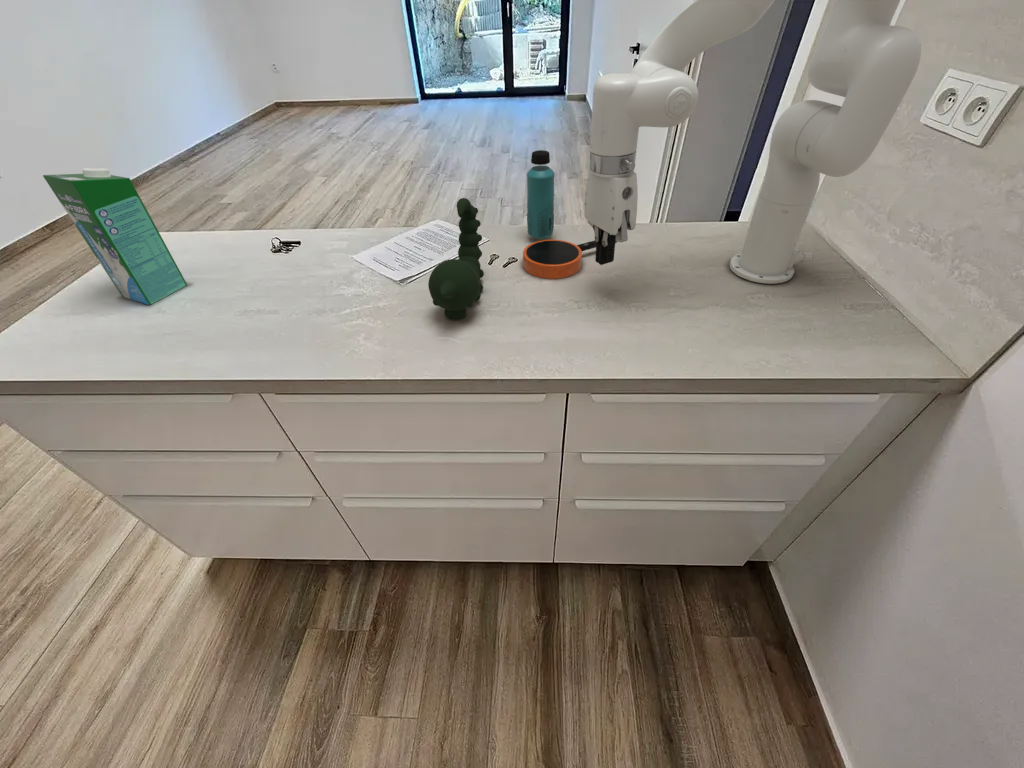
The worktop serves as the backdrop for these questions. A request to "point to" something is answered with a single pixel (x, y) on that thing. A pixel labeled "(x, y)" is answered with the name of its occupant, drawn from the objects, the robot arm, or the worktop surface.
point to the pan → (554, 258)
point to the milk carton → (119, 233)
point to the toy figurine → (460, 269)
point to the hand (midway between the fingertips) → (604, 261)
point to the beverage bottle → (540, 196)
